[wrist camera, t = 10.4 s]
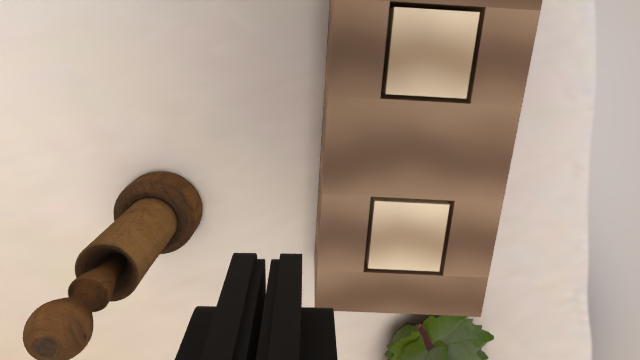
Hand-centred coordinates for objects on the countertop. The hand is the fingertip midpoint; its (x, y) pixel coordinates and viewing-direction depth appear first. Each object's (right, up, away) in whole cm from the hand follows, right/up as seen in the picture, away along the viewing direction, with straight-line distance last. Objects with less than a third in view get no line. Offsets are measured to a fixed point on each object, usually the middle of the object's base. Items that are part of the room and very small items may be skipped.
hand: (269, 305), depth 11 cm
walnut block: (+7, +7, +25) cm, 27 cm away
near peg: (+8, +13, +24) cm, 28 cm away
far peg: (+7, +2, +27) cm, 28 cm away
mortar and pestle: (-12, +1, +27) cm, 30 cm away
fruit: (+12, -13, +32) cm, 37 cm away
